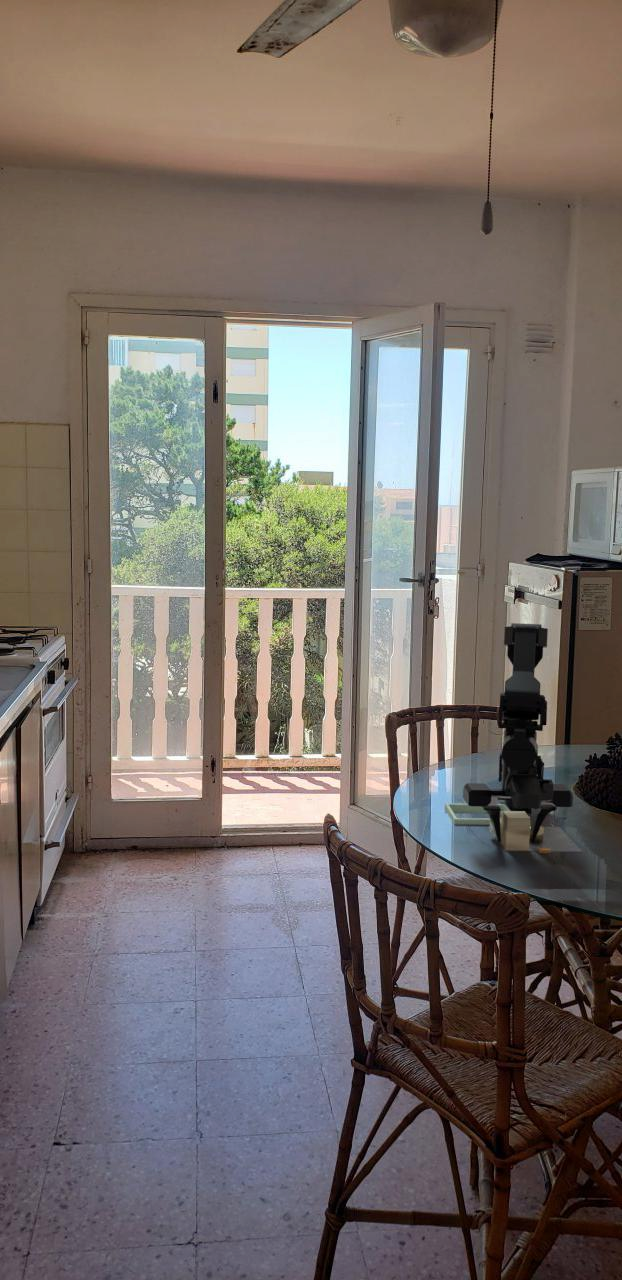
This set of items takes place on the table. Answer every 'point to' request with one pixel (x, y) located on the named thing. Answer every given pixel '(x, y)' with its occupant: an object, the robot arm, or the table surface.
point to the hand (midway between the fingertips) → (515, 841)
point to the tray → (469, 810)
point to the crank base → (550, 842)
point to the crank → (541, 830)
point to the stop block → (515, 830)
